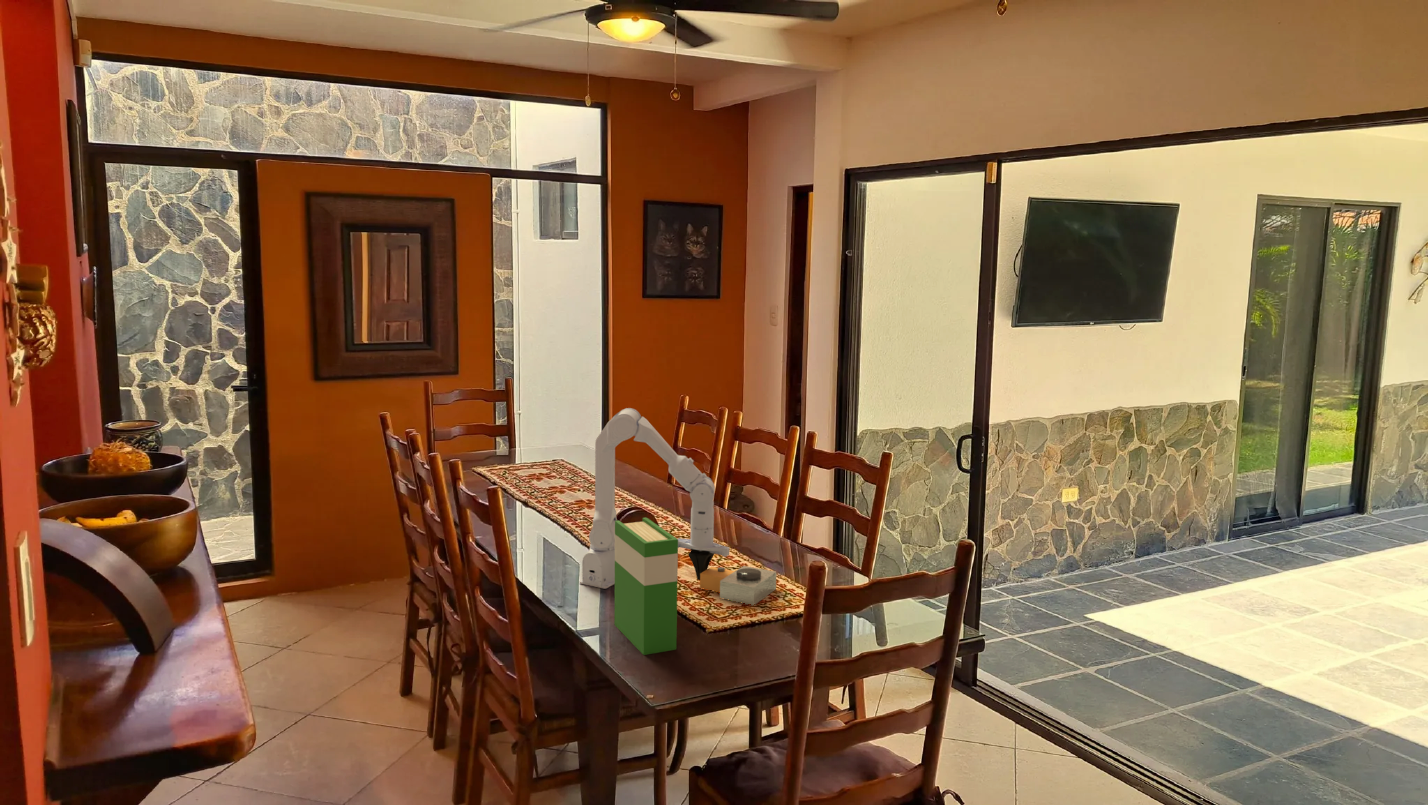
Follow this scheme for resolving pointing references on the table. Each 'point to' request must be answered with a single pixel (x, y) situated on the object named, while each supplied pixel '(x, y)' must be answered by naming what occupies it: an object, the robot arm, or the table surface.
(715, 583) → the lock block
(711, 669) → the table surface
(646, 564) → the hardback book
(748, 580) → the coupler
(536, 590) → the table surface
